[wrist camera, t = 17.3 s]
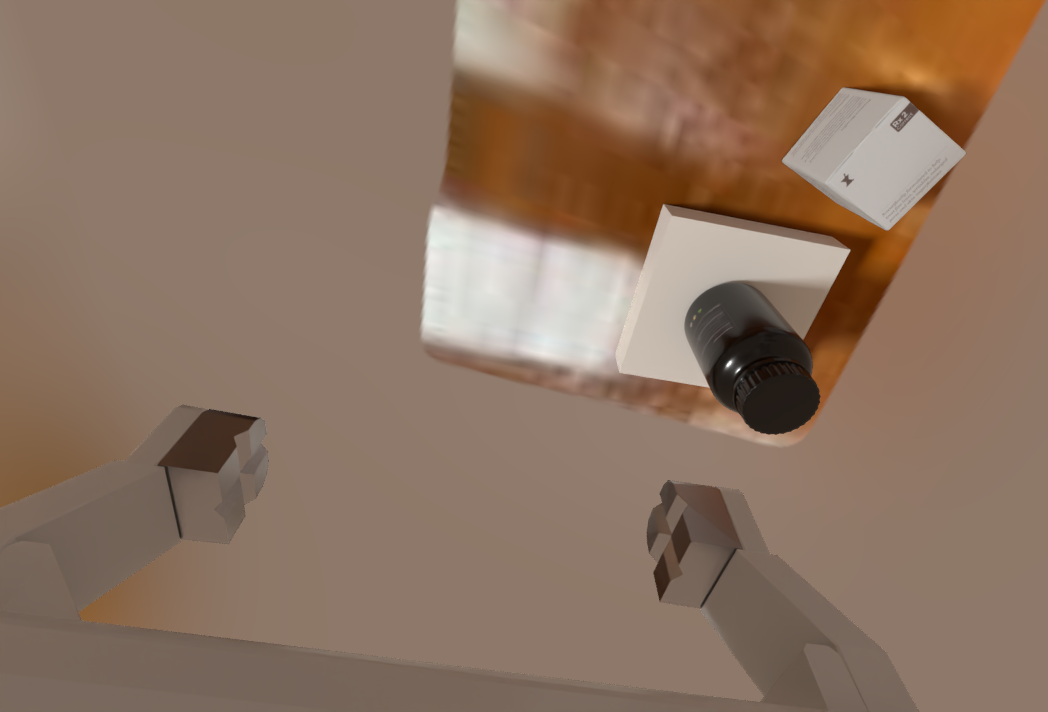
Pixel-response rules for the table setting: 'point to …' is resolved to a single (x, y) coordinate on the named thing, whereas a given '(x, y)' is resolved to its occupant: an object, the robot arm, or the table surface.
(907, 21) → the table surface
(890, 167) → the skincare box
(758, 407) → the supplement bottle
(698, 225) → the stand
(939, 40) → the table surface
